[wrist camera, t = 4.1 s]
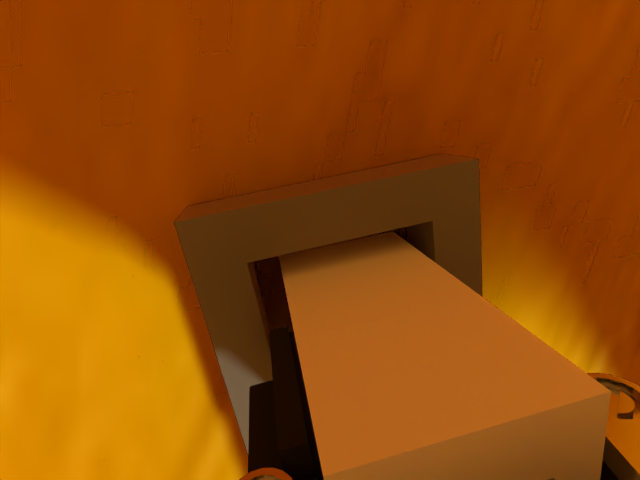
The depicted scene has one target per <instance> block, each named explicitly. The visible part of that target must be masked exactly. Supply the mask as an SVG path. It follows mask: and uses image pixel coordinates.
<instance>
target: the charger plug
mask: <svg viewBox="0 0 640 480" xmlns="http://www.w3.org/2000/svg"><path fill="white" fill-rule="evenodd" d="M279 261H280V266H281V271H282V275H283V280H284V285H285V290H286V295H287V300H288V305H289V310H290V315H291V320H292V325H293V330H294V335H295V340H296V345H297V350H298V355H299V360H300V365H301V370H302V374H303V379H304V384H305V389H306V394H307V399H308V404H309V409H310V414H311V419H312V424H313V429H314V434H315V439H316V444H317V449H318V454H319V459H320V464H321V468H322V473H323V478H324V480H600V477H601V469H602V461H603V453H604V445H605V436H606V428H607V420H608V412H609V403H610V395H611V391H610V390H609V389H607V388H606V387H604V386H603V385H602V384H600V383H599V382H598V381H596V380H595V379H594V378H592V377H591V376H589V375H588V374H587V373H585V372H584V371H583V370H581V369H580V368H579V367H577V366H576V365H574V364H573V363H572V362H570V361H569V360H568V359H566V358H565V357H564V356H562V355H561V354H559V353H558V352H557V351H555V350H554V349H553V348H551V347H550V346H549V345H547V344H546V343H544V342H543V341H542V340H540V339H539V338H538V337H536V336H535V335H533V334H532V333H531V332H529V331H528V330H527V329H525V328H524V327H523V326H521V325H520V324H518V323H517V322H516V321H514V320H513V319H512V318H510V317H509V316H508V315H506V314H505V313H503V312H502V311H501V310H499V309H498V308H497V307H495V306H494V305H493V304H491V303H490V302H488V301H487V300H486V299H484V298H483V297H482V296H480V295H479V294H478V293H476V292H475V291H473V290H472V289H471V288H469V287H468V286H467V285H465V284H464V283H463V282H461V281H460V280H458V279H457V278H456V277H454V276H453V275H452V274H450V273H449V272H448V271H446V270H445V269H443V268H442V267H441V266H439V265H438V264H437V263H435V262H434V261H432V260H431V259H430V258H428V257H427V256H426V255H424V254H423V253H422V252H420V251H419V250H417V249H416V248H415V247H413V246H412V245H411V244H409V243H408V242H407V241H405V240H404V239H402V238H401V237H400V236H398V235H397V234H396V233H394V232H388V233H383V234H379V235H374V236H370V237H365V238H361V239H356V240H351V241H347V242H342V243H338V244H333V245H329V246H324V247H319V248H315V249H310V250H306V251H301V252H297V253H292V254H287V255H283V256H279Z"/></svg>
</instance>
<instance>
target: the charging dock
mask: <svg viewBox="0 0 640 480" xmlns="http://www.w3.org/2000/svg"><path fill="white" fill-rule="evenodd" d="M174 224H175V227H176V230H177V234H178V237H179V240H180V243H181V246H182V249H183V252H184V256H185V259H186V262H187V265H188V268H189V271H190V274H191V277H192V281H193V284H194V287H195V290H196V293H197V296H198V299H199V303H200V306H201V309H202V312H203V315H204V318H205V321H206V324H207V328H208V331H209V334H210V337H211V340H212V343H213V346H214V350H215V353H216V356H217V359H218V362H219V365H220V368H221V371H222V375H223V378H224V381H225V384H226V387H227V390H228V393H229V397H230V400H231V403H232V406H233V409H234V412H235V415H236V418H237V422H238V425H239V428H240V431H241V434H242V437H243V440H244V444H245V447H246V450H247V453H248V450H249V389H250V386H252V385H256V384H260V383H263V382H267V381H271V380H273V376H272V363H271V351H270V338H269V332H270V328H269V324H268V320H267V316H266V312H265V308H264V304H263V300H262V296H261V292H260V288H259V284H258V280H257V276H256V272H255V268H254V264H253V261H258V260H262V259H267V258H271V257H275V256H280V255H284V254H289V253H293V252H297V251H302V250H306V249H311V248H315V247H319V246H324V245H328V244H333V243H337V242H341V241H346V240H350V239H355V238H359V237H363V236H368V235H372V234H377V233H381V232H385V231H390V230H394V229H399V228H403V227H407V235H408V243H409V244H411V245H412V246H413V247H415V248H416V249H417V250H419V251H420V252H422V253H423V254H424V255H426V256H427V257H428V258H430V259H431V260H432V261H434V262H435V263H437V264H438V265H439V266H441V267H442V268H443V269H445V270H446V271H448V272H449V273H450V274H452V275H453V276H454V277H456V278H457V279H458V280H460V281H461V282H463V283H464V284H465V285H467V286H468V287H469V288H471V289H472V290H473V291H475V292H476V293H478V294H479V295H480V296H482V260H481V222H480V184H479V159H478V158H470V157H463V156H455V155H448V154H440V155H435V156H430V157H425V158H420V159H415V160H410V161H405V162H400V163H396V164H391V165H386V166H381V167H376V168H371V169H366V170H361V171H356V172H352V173H347V174H342V175H337V176H332V177H327V178H322V179H317V180H312V181H308V182H303V183H298V184H293V185H288V186H283V187H278V188H273V189H268V190H263V191H259V192H254V193H249V194H244V195H239V196H234V197H229V198H224V199H219V200H215V201H210V202H205V203H200V204H195V205H190V206H187V207H186V208H185V209H184V211H183V212H182V213H181V214H180V215H179V217H178V218H177V219H176V220H175V222H174Z"/></svg>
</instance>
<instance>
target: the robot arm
mask: <svg viewBox="0 0 640 480" xmlns="http://www.w3.org/2000/svg"><path fill="white" fill-rule="evenodd" d="M269 338H270V351H271V363H272V376H273V380H271V381H267V382H263V383H260V384H256V385H252V386H250V389H249V450H248V474H247V475H245V476H243V477H242V478H240V479H239V480H324V478H323V473H322V468H321V464H320V459H319V454H318V449H317V444H316V439H315V434H314V429H313V424H312V419H311V414H310V409H309V404H308V399H307V394H306V389H305V384H304V379H303V374H302V370H301V365H300V360H299V355H298V350H297V345H296V340H295V335H294V331H291V332H289V330H288V327H286V328H282V329H278V330H274V331H270V332H269ZM587 374H588V375H589V376H591V377H592V378H594V379H595V380H596V381H598V382H599V383H600V384H602V385H603V386H604V387H606V388H607V389H609V390H610V391H611V395H610V403H609V412H608V420H607V428H606V436H605V445H604V453H603V461H602V469H601V477H600V480H640V386H639V385H637V384H635V383H633V382H631V381H628V380H626V379H624V378H621V377H617V376H614V375H610V374H603V373H587Z"/></svg>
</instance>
